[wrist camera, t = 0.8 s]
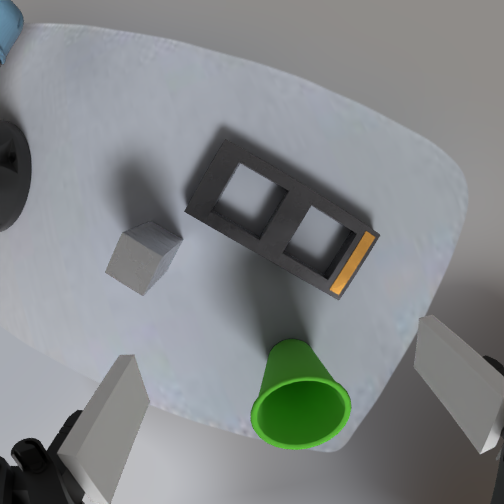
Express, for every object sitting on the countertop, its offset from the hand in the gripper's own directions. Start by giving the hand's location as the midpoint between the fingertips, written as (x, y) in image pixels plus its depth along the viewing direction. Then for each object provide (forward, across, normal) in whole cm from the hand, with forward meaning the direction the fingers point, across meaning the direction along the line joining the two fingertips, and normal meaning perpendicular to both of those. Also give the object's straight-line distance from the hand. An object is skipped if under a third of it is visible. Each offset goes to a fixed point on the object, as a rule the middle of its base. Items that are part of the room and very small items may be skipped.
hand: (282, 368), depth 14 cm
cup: (+21, +2, -12) cm, 24 cm away
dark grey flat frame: (+21, +3, +3) cm, 21 cm away
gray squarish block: (+21, -11, +2) cm, 24 cm away
